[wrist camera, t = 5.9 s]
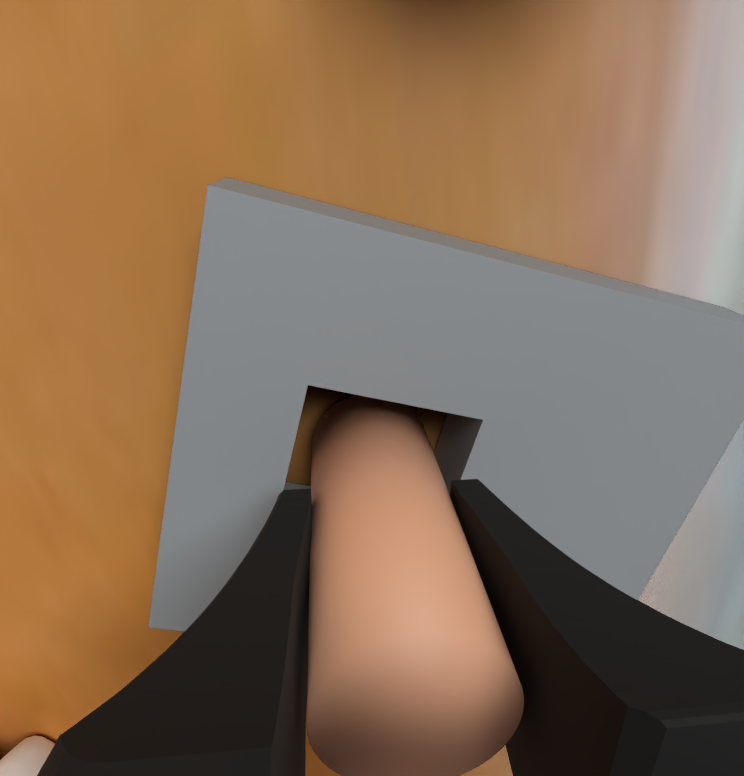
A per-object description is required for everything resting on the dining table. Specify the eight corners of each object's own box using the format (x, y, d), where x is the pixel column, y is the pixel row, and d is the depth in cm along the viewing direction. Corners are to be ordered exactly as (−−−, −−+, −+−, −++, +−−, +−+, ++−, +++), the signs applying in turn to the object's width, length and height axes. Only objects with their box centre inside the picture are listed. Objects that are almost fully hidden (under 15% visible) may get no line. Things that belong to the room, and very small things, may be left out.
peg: (424, 387, 15) (529, 626, 7) (427, 487, 16) (519, 772, 9) (305, 399, 15) (293, 655, 7) (318, 499, 16) (318, 800, 9)
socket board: (723, 307, 16) (792, 335, 13) (562, 615, 20) (593, 676, 18) (226, 177, 13) (207, 184, 11) (170, 564, 18) (148, 627, 15)
